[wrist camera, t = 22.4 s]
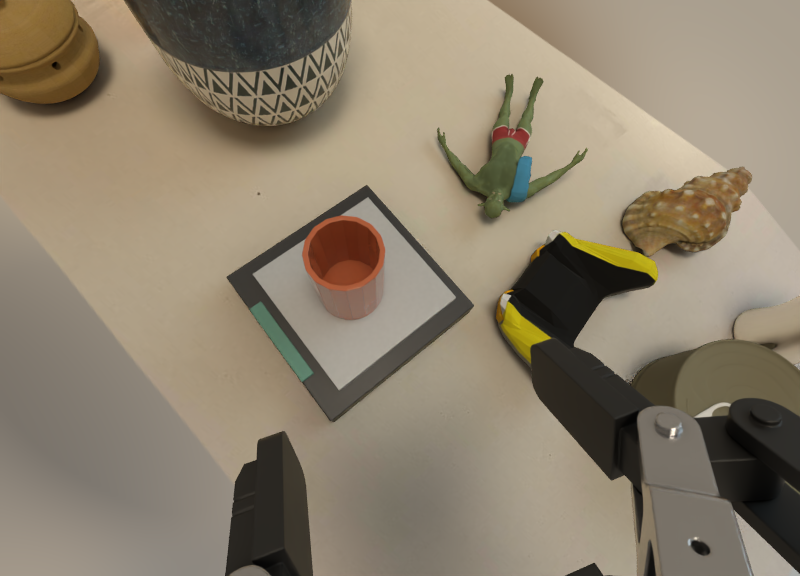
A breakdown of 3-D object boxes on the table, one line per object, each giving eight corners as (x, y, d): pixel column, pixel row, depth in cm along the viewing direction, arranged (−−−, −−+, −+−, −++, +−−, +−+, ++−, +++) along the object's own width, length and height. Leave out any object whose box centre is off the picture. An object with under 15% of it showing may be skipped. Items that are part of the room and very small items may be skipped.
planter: (395, 82, 49) (407, -166, 28) (287, 198, 43) (205, -11, 23) (268, 8, 52) (197, -266, 31) (151, 106, 46) (-29, -151, 26)
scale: (333, 422, 36) (329, 421, 33) (234, 285, 39) (223, 274, 37) (469, 312, 40) (475, 303, 37) (367, 197, 43) (366, 181, 41)
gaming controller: (636, 284, 42) (553, 226, 43) (673, 263, 36) (576, 198, 38) (559, 403, 37) (470, 334, 39) (588, 399, 32) (484, 319, 34)
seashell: (626, 197, 49) (713, 133, 41) (674, 247, 48) (772, 191, 41) (609, 226, 42) (710, 156, 35) (665, 284, 42) (778, 226, 35)
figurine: (599, 80, 44) (579, 220, 38) (588, 110, 48) (568, 242, 41) (455, 66, 47) (414, 191, 41) (455, 94, 51) (416, 214, 44)
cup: (344, 333, 35) (335, 307, 28) (305, 283, 37) (286, 245, 29) (396, 293, 37) (401, 258, 29) (357, 247, 38) (352, 201, 31)
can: (781, 471, 36) (868, 480, 30) (659, 511, 35) (724, 529, 28) (714, 341, 40) (779, 323, 33) (602, 371, 38) (648, 359, 32)
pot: (75, 24, 49) (3, -72, 40) (138, 77, 47) (78, -12, 38) (-17, 80, 46) (-119, -11, 36) (46, 139, 44) (-45, 59, 34)
